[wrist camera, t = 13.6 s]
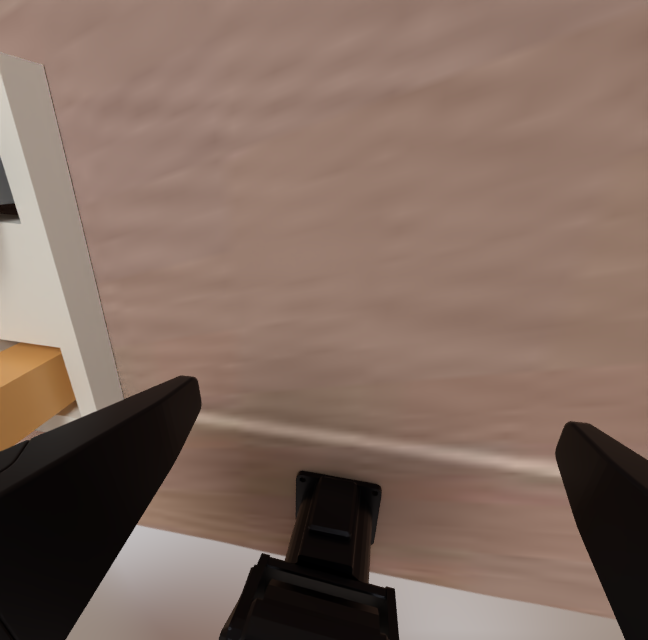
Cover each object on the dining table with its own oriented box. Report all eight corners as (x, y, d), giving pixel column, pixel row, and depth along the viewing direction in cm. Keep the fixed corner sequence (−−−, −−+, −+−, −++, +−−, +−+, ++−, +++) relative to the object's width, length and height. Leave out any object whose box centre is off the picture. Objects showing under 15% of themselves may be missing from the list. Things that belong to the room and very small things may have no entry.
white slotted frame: (129, 421, 28) (106, 443, 26) (34, 405, 29) (5, 424, 27) (43, 64, 18) (-6, 50, 16) (-94, 64, 20) (-157, 50, 17)
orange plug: (94, 386, 27) (-13, 464, 20) (50, 378, 28) (-69, 452, 21) (82, 341, 26) (-39, 409, 18) (36, 334, 26) (-99, 398, 19)
